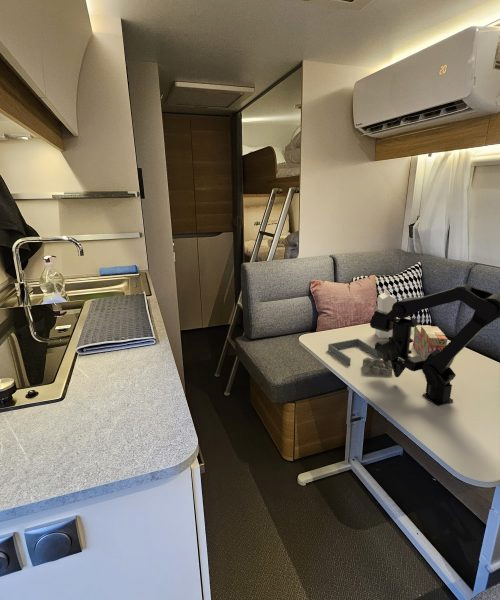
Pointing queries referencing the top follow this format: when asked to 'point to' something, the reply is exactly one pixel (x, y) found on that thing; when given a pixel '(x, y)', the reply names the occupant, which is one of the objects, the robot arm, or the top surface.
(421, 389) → the top surface
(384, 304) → the milk
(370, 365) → the egg carton
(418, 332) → the stack of blocks
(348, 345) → the box
